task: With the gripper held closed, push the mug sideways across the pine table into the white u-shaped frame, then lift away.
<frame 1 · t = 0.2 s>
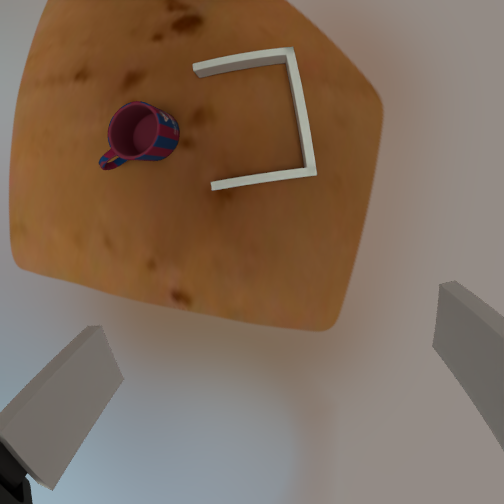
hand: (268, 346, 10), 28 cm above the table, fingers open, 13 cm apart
white u-shaped frame: (250, 119, 33), on the table
mug: (146, 142, 35), on the table
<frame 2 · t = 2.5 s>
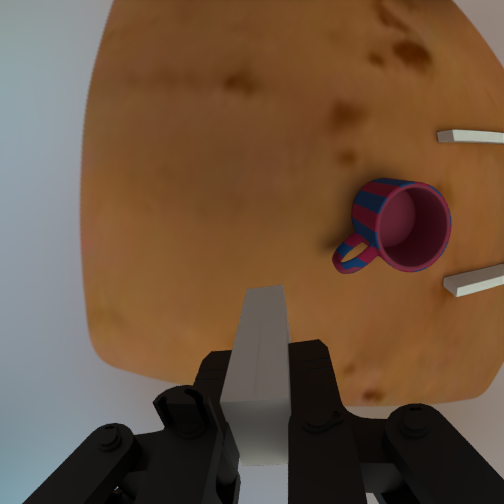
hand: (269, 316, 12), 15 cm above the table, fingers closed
white u-shaped frame: (482, 207, 24), on the table
mug: (369, 221, 26), on the table
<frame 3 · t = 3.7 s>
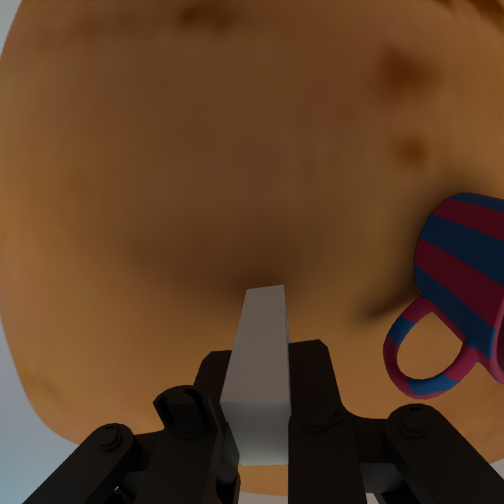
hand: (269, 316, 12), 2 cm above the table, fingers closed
mug: (439, 268, 13), on the table
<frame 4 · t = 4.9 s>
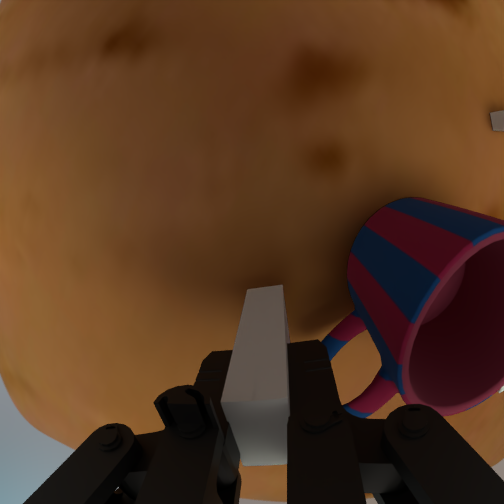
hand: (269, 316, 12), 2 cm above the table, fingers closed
mug: (381, 281, 13), on the table, touching gripper
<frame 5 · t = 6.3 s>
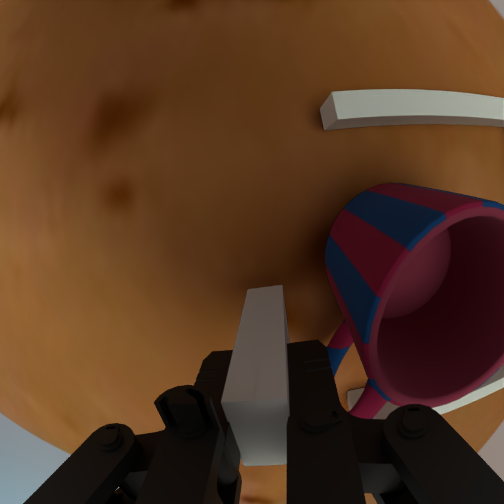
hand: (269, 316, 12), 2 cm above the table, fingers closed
white u-shaped frame: (442, 264, 13), on the table
mug: (368, 278, 13), on the table, touching gripper
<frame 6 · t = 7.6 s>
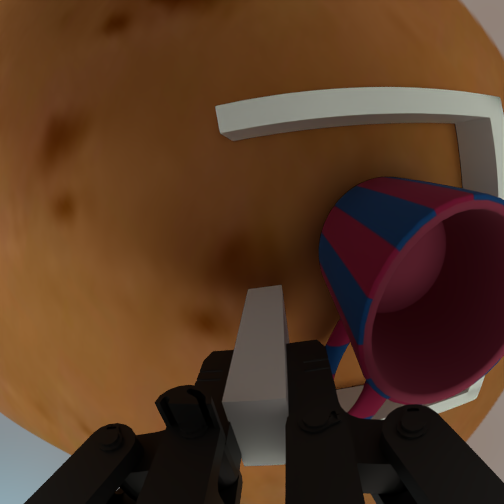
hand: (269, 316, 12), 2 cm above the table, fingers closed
white u-shaped frame: (372, 274, 13), on the table
mug: (363, 273, 13), on the table, touching gripper
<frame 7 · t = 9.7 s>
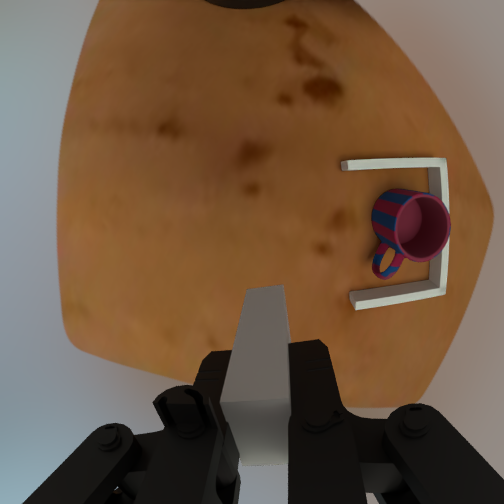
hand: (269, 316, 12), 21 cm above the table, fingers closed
white u-shaped frame: (391, 229, 31), on the table
mug: (388, 227, 32), on the table
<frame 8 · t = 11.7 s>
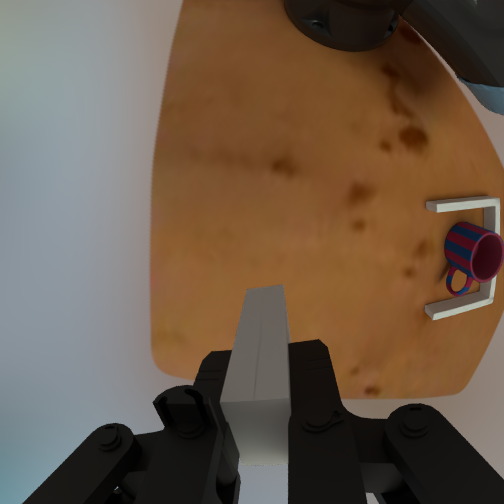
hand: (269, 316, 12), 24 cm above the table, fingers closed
white u-shaped frame: (457, 253, 35), on the table
mug: (454, 252, 35), on the table
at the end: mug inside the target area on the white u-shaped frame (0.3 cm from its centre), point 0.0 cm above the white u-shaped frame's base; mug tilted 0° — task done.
